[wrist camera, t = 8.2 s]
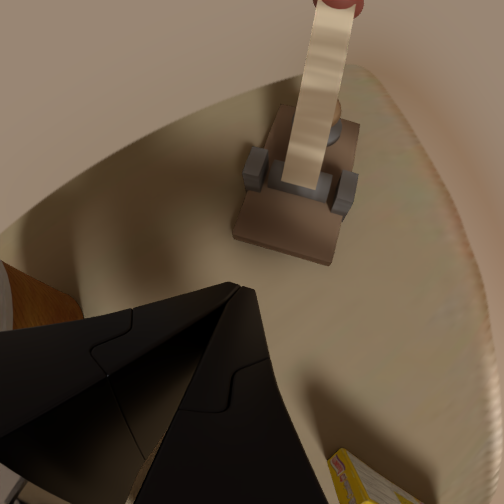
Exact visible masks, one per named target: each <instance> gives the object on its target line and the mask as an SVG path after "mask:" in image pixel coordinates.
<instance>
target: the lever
mask: <svg viewBox="0 0 504 504" xmlns="http://www.w3.org/2000/svg"><path fill="white" fill-rule="evenodd" d="M313 3H314V5H315V7H316V12H315V17H314V22H313V27H312V32H311V37H310V43H309V48H308V53H307V58H306V63H305V68H304V73H303V78H302V83H301V88H300V93H299V98H298V102H297V107H296V112H295V117H294V122H293V127H292V131H291V136H290V141H289V146H288V150H287V155H286V160H285V162H283V161H279V160H274V161H273V163H272V166H271V169H270V173H269V177H268V188H271V189H275V190H279V191H283V192H287V193H290V194H294V195H298V196H301V197H305V198H308V199H312V200H315V201H319V202H322V203H326V200H327V197H328V193H329V189H330V185H331V181H332V176H333V175H331V174H328V173H324V172H321V171H320V170H321V166H322V162H323V158H324V154H325V150H326V146H327V142H328V138H329V134H330V129H331V125H332V121H333V116H334V112H335V108H336V103H337V99H338V94H339V89H340V85H341V80H342V75H343V70H344V65H345V60H346V55H347V50H348V45H349V40H350V34H351V29H352V23H353V19H354V18H356V17H357V16H358V15H359V14H360V13H361V11H362V9H363V6H364V0H313Z"/></svg>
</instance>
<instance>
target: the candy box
mask: <svg viewBox="0 0 504 504" xmlns="http://www.w3.org/2000/svg"><path fill="white" fill-rule="evenodd" d="M327 463H328V467H329V470H330V473H331V476H332V480H333V483H334V487H335V490H336V493H337V497H338V500H339V503H340V504H424V503H423V502H421V501H420V500H418V499H416V498H415V497H413V496H412V495H410V494H409V493H407V492H406V491H404V490H403V489H401V488H400V487H398V486H397V485H395V484H393V483H392V482H390V481H389V480H387V479H386V478H384V477H383V476H382V475H380V474H379V473H377V472H376V471H374V470H373V469H372V468H370V467H369V466H368V465H366V464H365V463H364V462H362V461H361V460H360V459H358V458H357V457H355V456H354V455H353V454H351V453H350V452H349V451H347V450H346V449H344V448H340V449H339V450H338V451H337V452H336V453H335V454H334V455H333V456H332V457H331V458H330V459H329V460H328V461H327Z"/></svg>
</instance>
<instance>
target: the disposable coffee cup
mask: <svg viewBox="0 0 504 504" xmlns="http://www.w3.org/2000/svg"><path fill="white" fill-rule="evenodd" d="M80 319H84V318H83V314H82V312H81V309H80V307H79V305H78V303H77V302H76V301H75V300H74V299H73V298H72V297H71V296H69V295H67V294H65V293H62V292H60V291H58V290H56V289H54V288H52V287H50V286H48V285H46V284H44V283H42V282H40V281H38V280H36V279H34V278H32V277H30V276H29V275H27V274H25V273H23V272H21V271H19V270H17V269H15V268H14V267H12V266H10V265H8V264H6V263H5V262H3V261H1V260H0V331H7V330H15V329H22V328H29V327H36V326H42V325H49V324H56V323H62V322H68V321H74V320H80Z"/></svg>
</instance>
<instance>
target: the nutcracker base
mask: <svg viewBox="0 0 504 504" xmlns="http://www.w3.org/2000/svg"><path fill="white" fill-rule="evenodd" d="M295 112H296V107H293V106H288V105H283V104H280V107H279V109H278V112H277V115H276V117H275V120H274V122H273V125H272V128H271V130H270V133H269V135H268V138H267V141H266V143H265V146H264V148H258V147H254V146H252V149H251V151H250V154H249V156H248V159H247V161H246V164H245V166H244V169H243V171H242V175H243V179H244V184H245V189H246V197H245V199H244V202H243V205H242V208H241V210H240V213H239V216H238V219H237V221H236V224H235V227H234V230H233V232H232V235H233V237H234V239H236V240H240V241H243V242H247V243H250V244H254V245H257V246H261V247H264V248H267V249H271V250H274V251H278V252H281V253H285V254H288V255H291V256H295V257H298V258H302V259H305V260H308V261H312V262H315V263H319V264H322V265H325V266H330V264H331V263H332V259H333V255H334V251H335V247H336V243H337V239H338V235H339V231H340V226H341V222H343V220H344V218H345V216H346V215H347V213H348V211H349V209H350V208H351V206H352V204H353V202H354V196H355V191H356V186H357V180H358V175H359V174H356V173H353V172H352V169H353V163H354V158H355V152H356V146H357V140H358V134H359V128H360V124H358V123H354V122H351V121H348V120H344V119H341V118H340V116H341V105H340V102H339V100H338V99H337V103H336V108H335V112H334V116H333V121H332V125H331V129H330V134H329V138H328V142H327V146H326V150H325V154H324V158H323V162H322V166H321V170H320V171H321V172H324V173H328V174H331V175H333V176H332V181H331V185H330V189H329V193H328V197H327V200H326V203H322V202H319V201H315V200H312V199H308V198H305V197H301V196H298V195H294V194H290V193H287V192H283V191H279V190H275V189H271V188H268V177H269V173H270V169H271V166H272V163H273V161H274V160H279V161H283V162H285V160H286V155H287V150H288V146H289V141H290V136H291V131H292V127H293V122H294V117H295Z"/></svg>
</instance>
